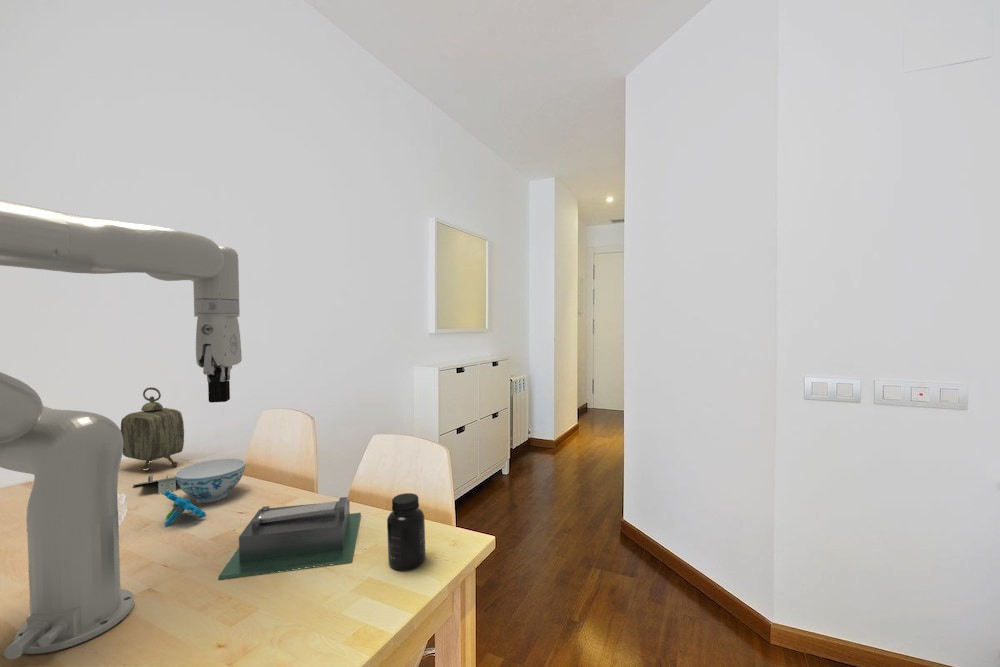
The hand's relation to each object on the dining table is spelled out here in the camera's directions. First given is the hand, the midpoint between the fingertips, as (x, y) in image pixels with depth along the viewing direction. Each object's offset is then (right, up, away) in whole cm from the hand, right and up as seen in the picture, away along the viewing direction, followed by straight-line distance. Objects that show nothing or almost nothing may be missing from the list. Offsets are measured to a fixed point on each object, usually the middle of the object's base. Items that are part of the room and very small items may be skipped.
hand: (219, 401), depth 85 cm
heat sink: (+15, -29, +1) cm, 33 cm away
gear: (-16, -29, +12) cm, 35 cm away
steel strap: (+15, -23, +1) cm, 28 cm away
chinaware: (-18, -29, +24) cm, 42 cm away
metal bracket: (-36, -29, +32) cm, 56 cm away
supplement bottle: (+39, -29, -5) cm, 49 cm away
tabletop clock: (-51, -28, +46) cm, 74 cm away
